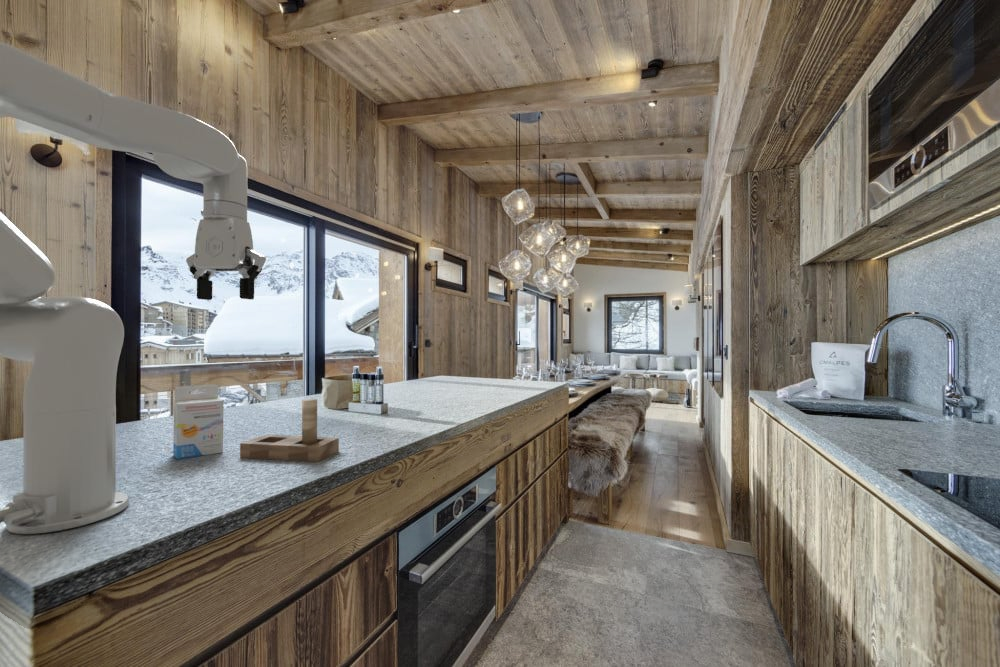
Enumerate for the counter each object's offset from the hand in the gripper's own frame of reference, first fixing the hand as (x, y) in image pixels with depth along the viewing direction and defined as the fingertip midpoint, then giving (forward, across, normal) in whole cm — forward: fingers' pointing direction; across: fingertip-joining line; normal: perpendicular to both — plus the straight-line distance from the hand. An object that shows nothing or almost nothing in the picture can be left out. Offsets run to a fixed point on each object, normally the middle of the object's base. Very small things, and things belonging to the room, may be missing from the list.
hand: (225, 299), depth 88 cm
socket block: (+33, +9, +8) cm, 35 cm away
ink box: (+34, -11, +5) cm, 36 cm away
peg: (+33, +14, +8) cm, 37 cm away
